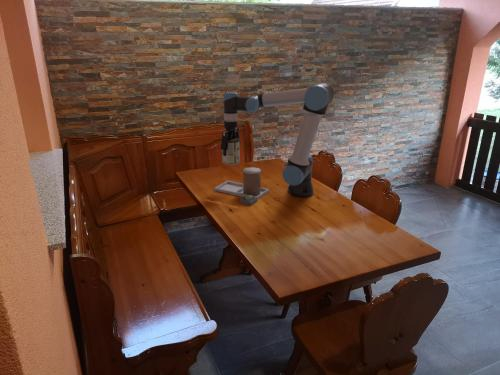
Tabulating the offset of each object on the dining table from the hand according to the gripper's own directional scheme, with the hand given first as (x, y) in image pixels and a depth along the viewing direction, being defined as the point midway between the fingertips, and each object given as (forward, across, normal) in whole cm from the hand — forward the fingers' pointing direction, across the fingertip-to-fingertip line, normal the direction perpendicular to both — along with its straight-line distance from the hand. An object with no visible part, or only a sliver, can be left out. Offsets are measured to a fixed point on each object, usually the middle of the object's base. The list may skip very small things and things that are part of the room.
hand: (230, 158), depth 214 cm
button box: (+20, +12, +19) cm, 30 cm away
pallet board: (+20, 0, +7) cm, 21 cm away
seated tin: (+19, 0, +14) cm, 23 cm away
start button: (+18, +12, +19) cm, 29 cm away
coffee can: (+2, 0, 0) cm, 2 cm away
